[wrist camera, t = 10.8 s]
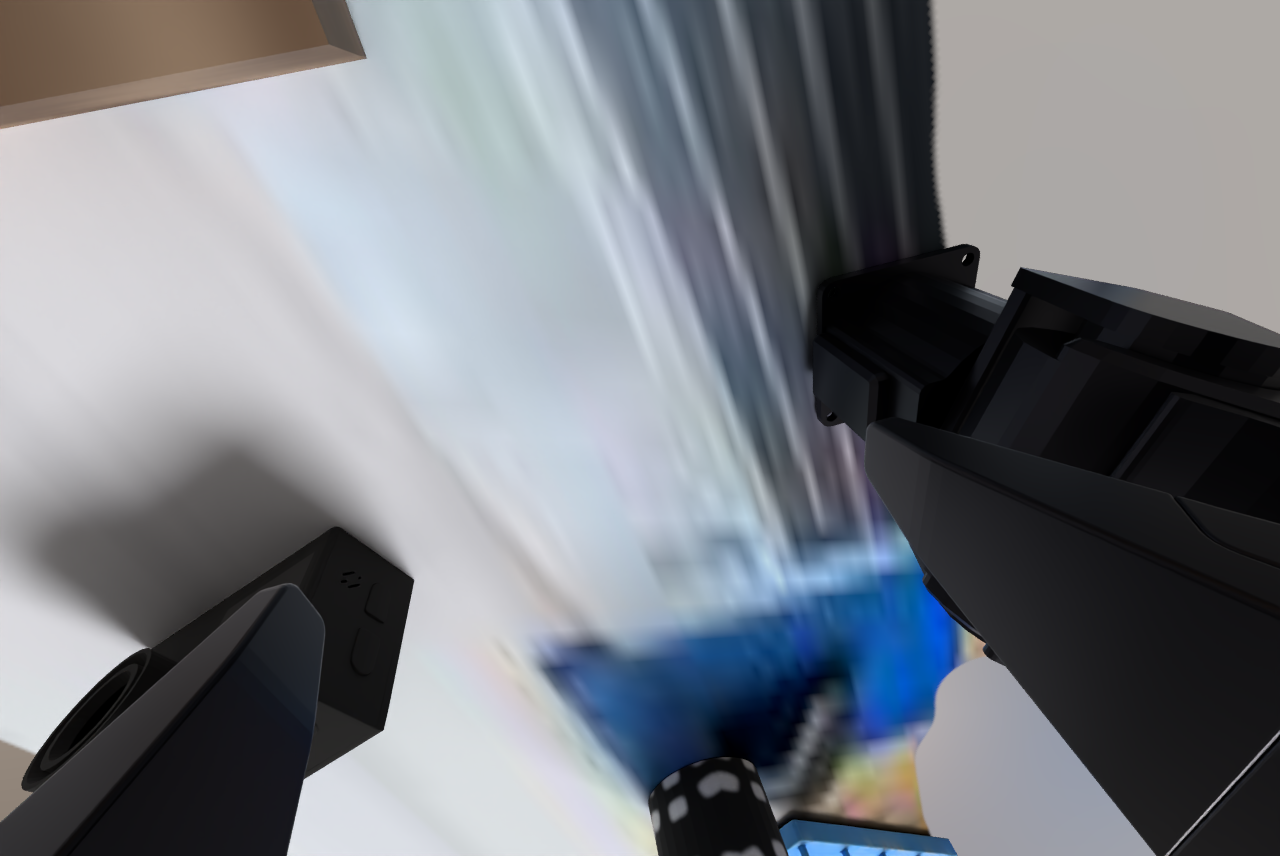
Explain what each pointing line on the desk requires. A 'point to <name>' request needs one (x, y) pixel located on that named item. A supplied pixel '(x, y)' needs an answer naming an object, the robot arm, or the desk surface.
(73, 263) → the desk surface
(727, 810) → the spotted tube
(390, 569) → the digital camera
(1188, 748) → the robot arm
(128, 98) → the walnut block
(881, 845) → the file sorter
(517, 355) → the desk surface
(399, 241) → the desk surface
